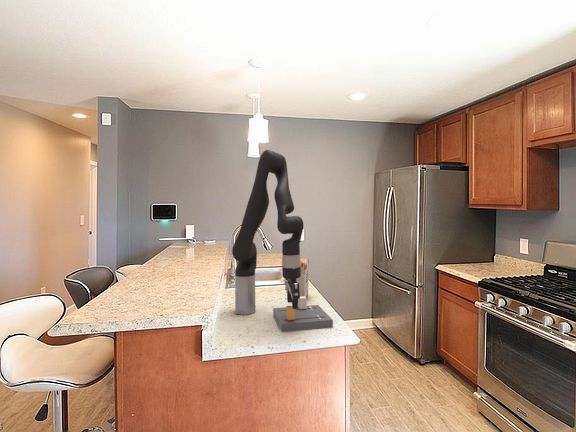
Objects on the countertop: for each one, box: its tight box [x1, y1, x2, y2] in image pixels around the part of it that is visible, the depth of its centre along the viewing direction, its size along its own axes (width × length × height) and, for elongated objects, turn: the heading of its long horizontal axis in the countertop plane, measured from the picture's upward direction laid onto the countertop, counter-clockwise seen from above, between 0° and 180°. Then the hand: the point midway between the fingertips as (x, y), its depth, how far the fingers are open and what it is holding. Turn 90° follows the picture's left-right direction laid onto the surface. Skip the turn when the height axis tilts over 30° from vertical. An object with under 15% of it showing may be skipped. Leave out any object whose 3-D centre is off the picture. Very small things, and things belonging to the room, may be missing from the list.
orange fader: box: [285, 305, 295, 320], centre depth 130 cm, size 3×3×5 cm
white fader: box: [298, 296, 308, 309], centre depth 143 cm, size 3×3×5 cm
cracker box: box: [295, 257, 310, 299], centre depth 167 cm, size 14×6×21 cm, turn 168°
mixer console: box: [272, 304, 334, 333], centre depth 137 cm, size 21×20×3 cm
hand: (292, 305), depth 130 cm, fingers open, 8 cm apart
